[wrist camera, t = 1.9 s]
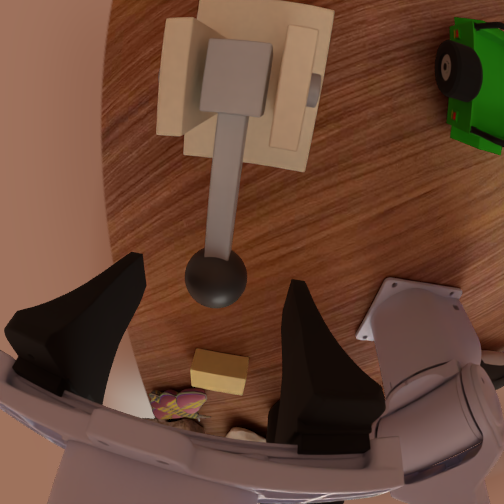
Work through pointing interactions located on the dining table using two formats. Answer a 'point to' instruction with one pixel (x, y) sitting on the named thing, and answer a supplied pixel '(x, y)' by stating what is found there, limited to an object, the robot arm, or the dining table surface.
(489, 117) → the toy car
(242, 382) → the butter
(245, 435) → the stone tool
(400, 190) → the dining table surface
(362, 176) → the dining table surface
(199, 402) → the decorative ornament
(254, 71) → the arcade joystick
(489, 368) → the figurine
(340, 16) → the dining table surface
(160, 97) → the wooden lever stand
